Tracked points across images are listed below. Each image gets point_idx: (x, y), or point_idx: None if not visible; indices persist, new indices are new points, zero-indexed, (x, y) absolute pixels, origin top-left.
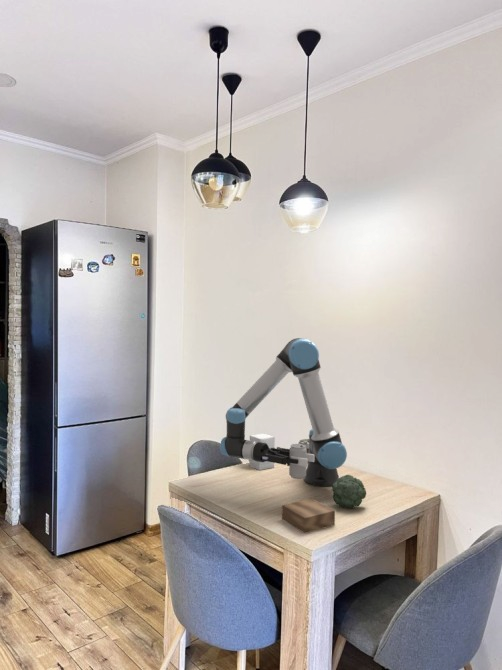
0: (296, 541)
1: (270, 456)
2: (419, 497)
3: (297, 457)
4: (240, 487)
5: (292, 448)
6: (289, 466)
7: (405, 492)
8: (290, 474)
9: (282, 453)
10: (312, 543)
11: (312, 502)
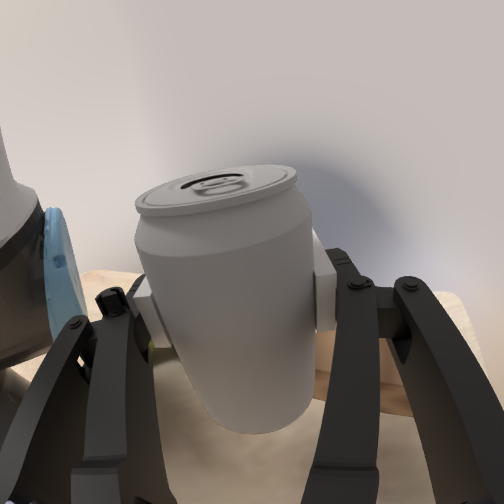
0: (465, 318)
1: (500, 429)
2: (108, 277)
3: (313, 243)
4: None
5: (294, 199)
6: (289, 389)
7: (86, 292)
8: (308, 401)
9: (144, 464)
10: (442, 300)
11: (332, 344)
